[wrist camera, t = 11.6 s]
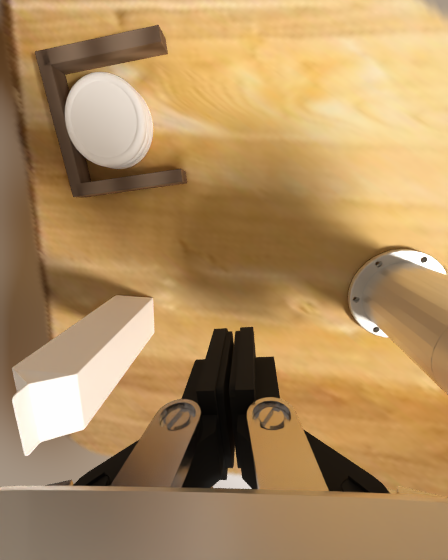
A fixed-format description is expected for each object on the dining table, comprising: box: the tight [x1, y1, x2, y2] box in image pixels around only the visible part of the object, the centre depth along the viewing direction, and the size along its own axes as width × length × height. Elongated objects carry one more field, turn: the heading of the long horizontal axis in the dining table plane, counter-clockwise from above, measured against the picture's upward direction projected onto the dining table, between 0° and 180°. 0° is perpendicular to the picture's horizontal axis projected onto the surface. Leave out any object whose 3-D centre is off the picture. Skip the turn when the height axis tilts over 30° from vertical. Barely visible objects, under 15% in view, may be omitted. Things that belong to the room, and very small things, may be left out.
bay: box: [35, 25, 187, 197], centre depth 33 cm, size 15×16×2 cm
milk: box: [12, 295, 154, 456], centre depth 31 cm, size 6×6×22 cm
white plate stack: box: [65, 72, 153, 169], centre depth 33 cm, size 10×10×4 cm
